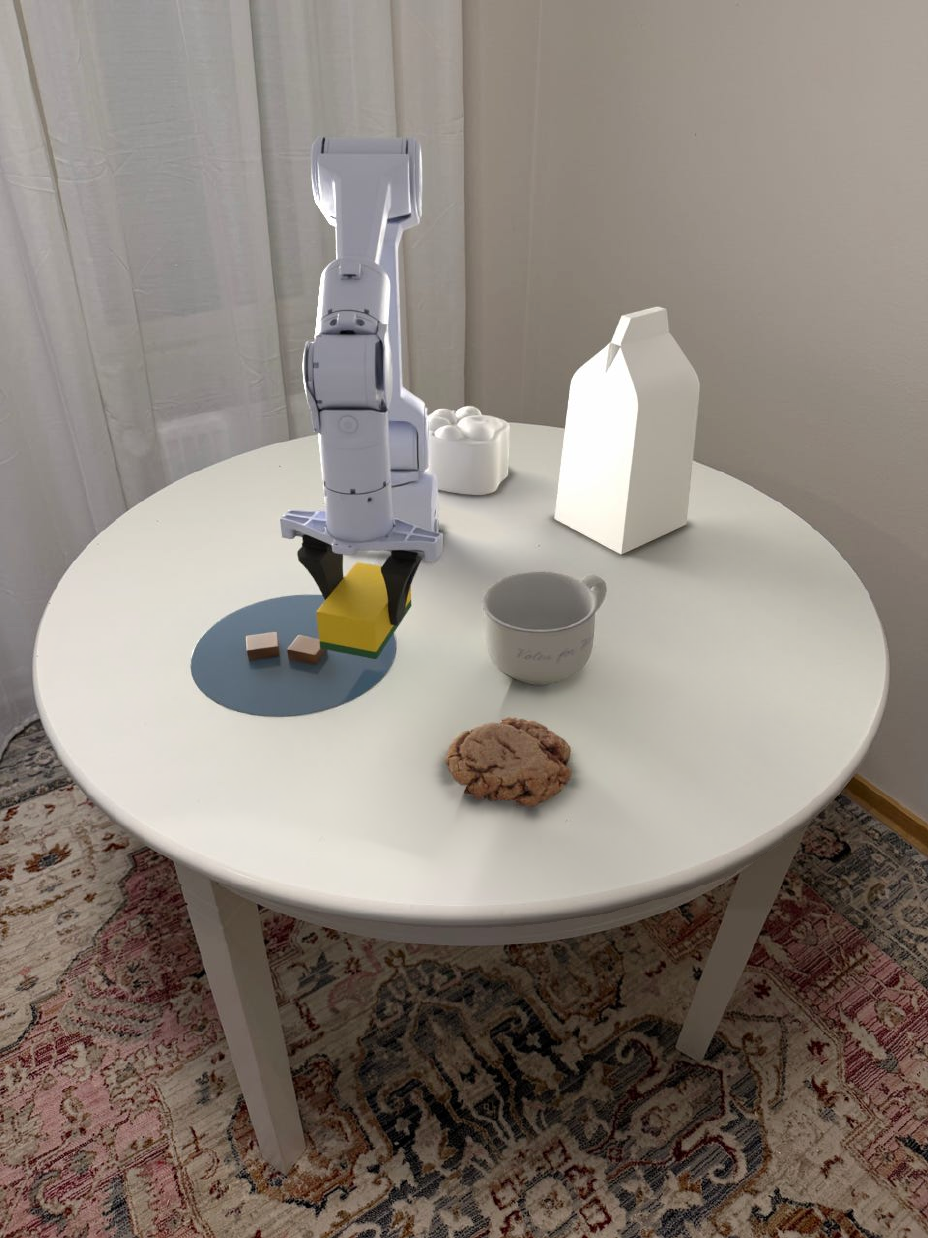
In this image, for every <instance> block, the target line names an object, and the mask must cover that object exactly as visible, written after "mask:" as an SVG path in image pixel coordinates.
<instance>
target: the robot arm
mask: <svg viewBox="0 0 928 1238" xmlns="http://www.w3.org/2000/svg"><path fill="white" fill-rule="evenodd" d="M310 150H311V151H310V172H311V174H310V175H311V184H312V193H313V198H314V201H315V204H316V205H317V206H318V208H319V210H320V212H321V213H322V214H323V216H324V217H325V219H326V220H327V223H328V224H329V225H331V226H333V227H335V249H336V250H335V255H336V256H335V257H336V259H334V260H332V261H331V262H330V263H328V265H326V266H325V268H324V269H323V271H322V273H321V276H320V284H319V294H318V306H317V314H316V315H317V316H316V326H315V334H314V341H310V340H307V341H306V342H305V345H304V350H303V357H302V374H303V375H302V376H303V385H304V391H305V397H306V400H307V405H308V407H309V411H310V416H311V424H312V429H313V433H316V434H317V439H318V450H319V460H320V471H321V480H322V481H321V482H322V491H323V502H324V510H303V509H302V510H301V509H300V510H299V509H292V508H291V509H288V510H287V511H286V512H285V513H284V514H283V515H282V516H281V517H280V518H279V525H280V531H281V532H280V533H281V538H283V539H288V540H294V539H295V538H296V537H298V538H299V537H300V538H302V542H301V547H300V548H299V549H298V550H297V551H296V555H297V560H298V562H299V563H300V564H301V565H302V566H303V567H304V568H305V569H306V570H307V571H308V573H309V575H311V577H312V579H313V580H314V582H315V583H316V586H317V587H318V589H319V591H320V593H321V595H323V597H324V600H326V599H327V598H328V597H329V595H330V594H331V593H332V592H333V590H334V589H335V588H336V587H337V586H338V584H339V583H340V582H341V581H342V579H343V578H344V577H345V576H344V556H354V555H355V554H357V552H369V551H370V552H373V551H378V552H379V551H385V552H390V556H388V557H387V558H386V560H385V561H384V563H383V564H382V565H381V566H382V567H381V573H382V576H383V578H384V582H385V585H386V590H387V596H388V613H389V619H390V624H391V625H398V624H399V622H400V621H401V619H402V618H403V616H404V615H405V607H406V601H407V597H408V593H409V589H410V586H411V585H412V583H413V581H414V578H415V575H416V573H417V570H418V568H419V566H420V564H421V562H422V560H423V558H424V561H425V562H426V563H432V564H433V563H434V564H436V563H437V562H438V561H439V559H441V556H442V555H443V553H444V533H443V532H439V531H440V518H439V517H440V516H439V490H438V480H437V475H435V474H430V473H426V472H425V470H426V469H427V468H428V467H429V449H430V444H429V422H428V415H429V413H428V407H427V406H426V403H425V402H424V401H423V400H422V399H421V398H420V397H418V396H416V395H415V394H414V393H412V392H411V391H409V390H408V389H407V388H405V387H404V385H403V359H402V356H403V355H402V331H401V330H402V329H401V300H400V298H401V297H400V296H401V295H400V273H399V272H400V267H399V246H400V244H401V243H400V242H401V240H402V236H403V233H404V231H406V230H408V229H411V228H413V227H416V226H418V225H420V221H421V220H420V219H421V218H422V216H423V158H422V157H423V156H422V155H423V154H422V144H421V142H420V141H419V140H418V139H417V137H416V136H415V135H409V136H408V137H332V136H331V137H327V136H325V135H317V137H316V139H315V140H314V141H313V143H312V145H311V149H310ZM411 587H412V586H411ZM405 616H406V615H405ZM403 619H404V618H403ZM401 622H402V621H401ZM399 625H400V624H399Z"/></svg>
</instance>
